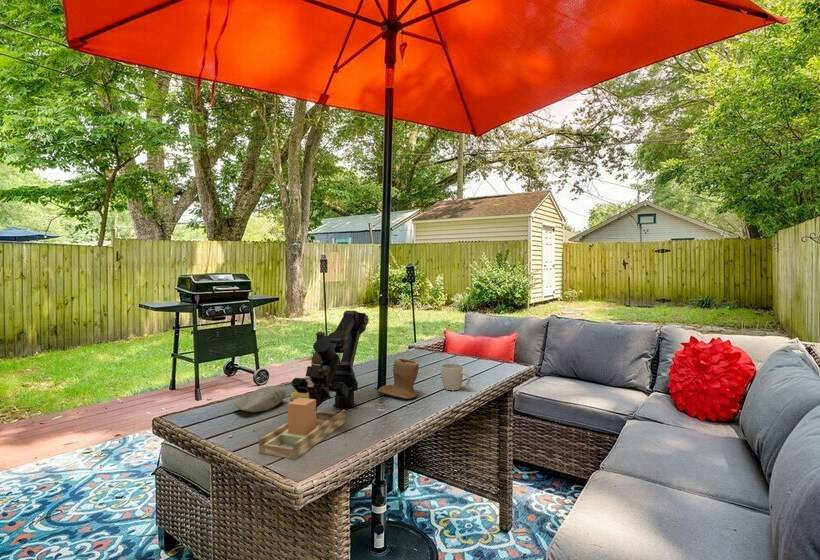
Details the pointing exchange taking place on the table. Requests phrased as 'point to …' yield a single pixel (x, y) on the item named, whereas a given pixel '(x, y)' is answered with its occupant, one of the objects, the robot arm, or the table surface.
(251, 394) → the rock
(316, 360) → the beer bottle
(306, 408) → the terracotta block
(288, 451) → the wooden compartment tray
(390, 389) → the brown boot
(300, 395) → the bread roll
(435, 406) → the table surface
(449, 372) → the mug
